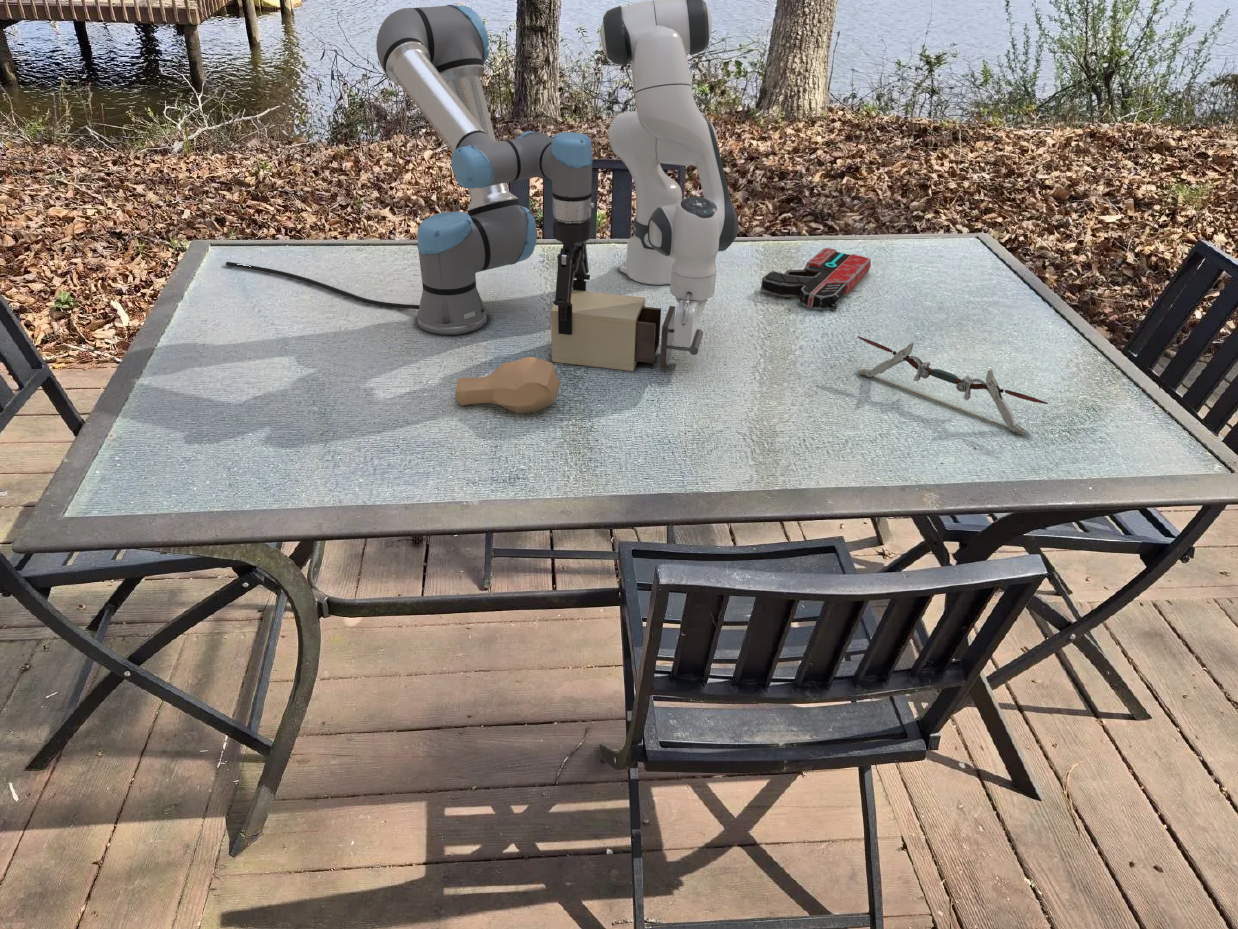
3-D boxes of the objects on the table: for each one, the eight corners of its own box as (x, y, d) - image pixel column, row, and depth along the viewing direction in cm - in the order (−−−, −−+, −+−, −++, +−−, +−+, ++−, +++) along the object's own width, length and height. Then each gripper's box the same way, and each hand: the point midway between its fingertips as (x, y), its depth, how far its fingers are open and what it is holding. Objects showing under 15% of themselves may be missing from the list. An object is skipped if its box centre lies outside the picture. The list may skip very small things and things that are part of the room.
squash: (562, 419, 163) (554, 381, 157) (456, 427, 164) (445, 390, 158) (565, 383, 171) (557, 345, 164) (464, 391, 172) (453, 354, 166)
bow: (1038, 437, 161) (1054, 389, 156) (1034, 440, 160) (1051, 392, 155) (853, 367, 183) (861, 323, 177) (848, 370, 182) (857, 326, 176)
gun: (758, 278, 211) (834, 298, 203) (804, 240, 233) (875, 256, 225) (755, 296, 213) (831, 316, 205) (802, 256, 235) (872, 273, 227)
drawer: (702, 350, 186) (705, 309, 181) (696, 372, 177) (699, 330, 172) (600, 339, 189) (600, 298, 184) (589, 360, 181) (589, 318, 176)
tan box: (643, 347, 189) (645, 297, 182) (633, 371, 179) (635, 319, 173) (565, 338, 191) (565, 288, 185) (551, 361, 182) (550, 310, 176)
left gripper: (576, 240, 160) (576, 348, 172) (603, 201, 179) (602, 300, 192) (536, 236, 161) (539, 343, 173) (568, 198, 181) (568, 297, 193)
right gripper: (701, 306, 164) (695, 372, 171) (714, 267, 180) (709, 328, 188) (668, 302, 165) (663, 368, 172) (684, 264, 181) (679, 325, 189)
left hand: (572, 321), depth 182 cm, fingers closed on tan box, 11 cm apart
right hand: (687, 347), depth 180 cm, fingers closed, pressing on drawer
